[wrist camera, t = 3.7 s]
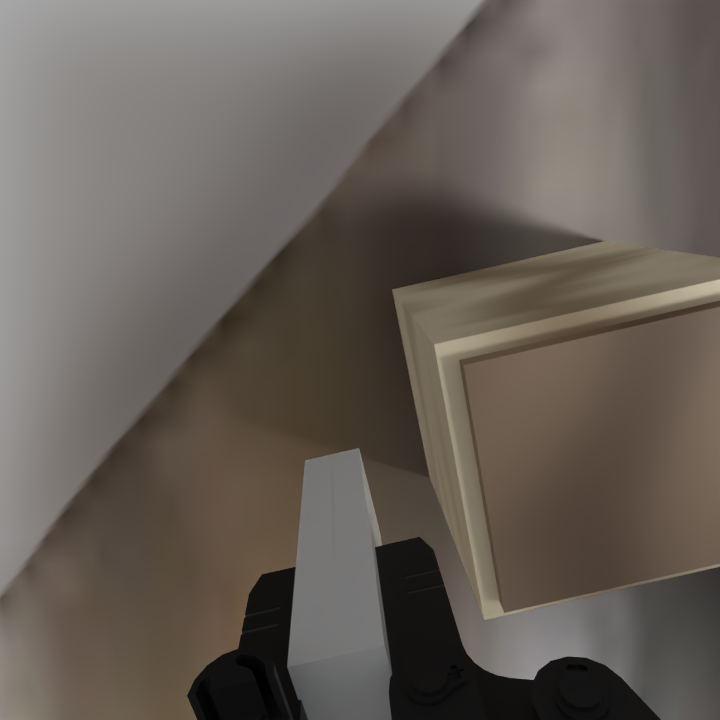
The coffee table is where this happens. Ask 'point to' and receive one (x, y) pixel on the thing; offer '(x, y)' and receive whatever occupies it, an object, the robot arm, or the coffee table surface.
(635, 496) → the maple cube
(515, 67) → the coffee table surface
